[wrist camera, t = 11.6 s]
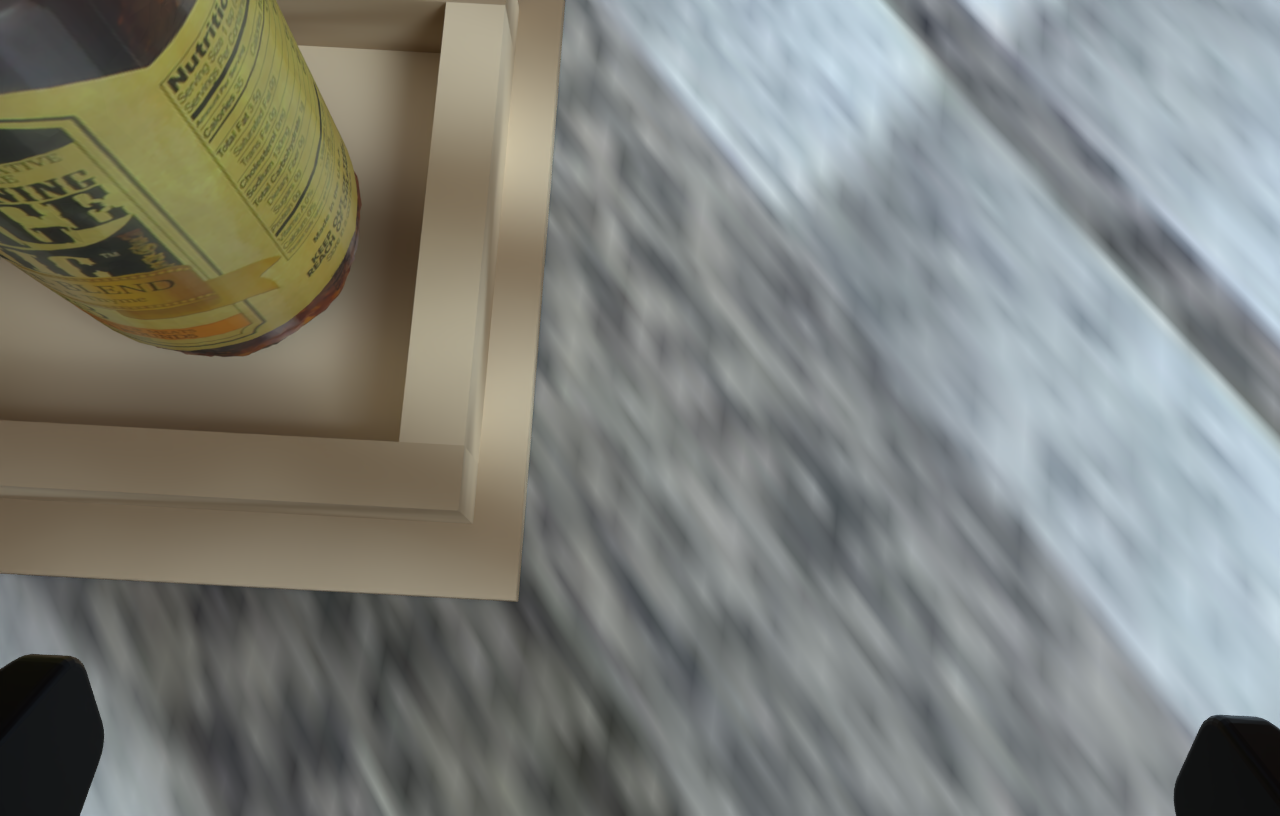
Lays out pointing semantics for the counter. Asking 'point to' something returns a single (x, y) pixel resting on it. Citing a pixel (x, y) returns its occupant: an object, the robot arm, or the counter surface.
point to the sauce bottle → (172, 169)
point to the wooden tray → (325, 351)
